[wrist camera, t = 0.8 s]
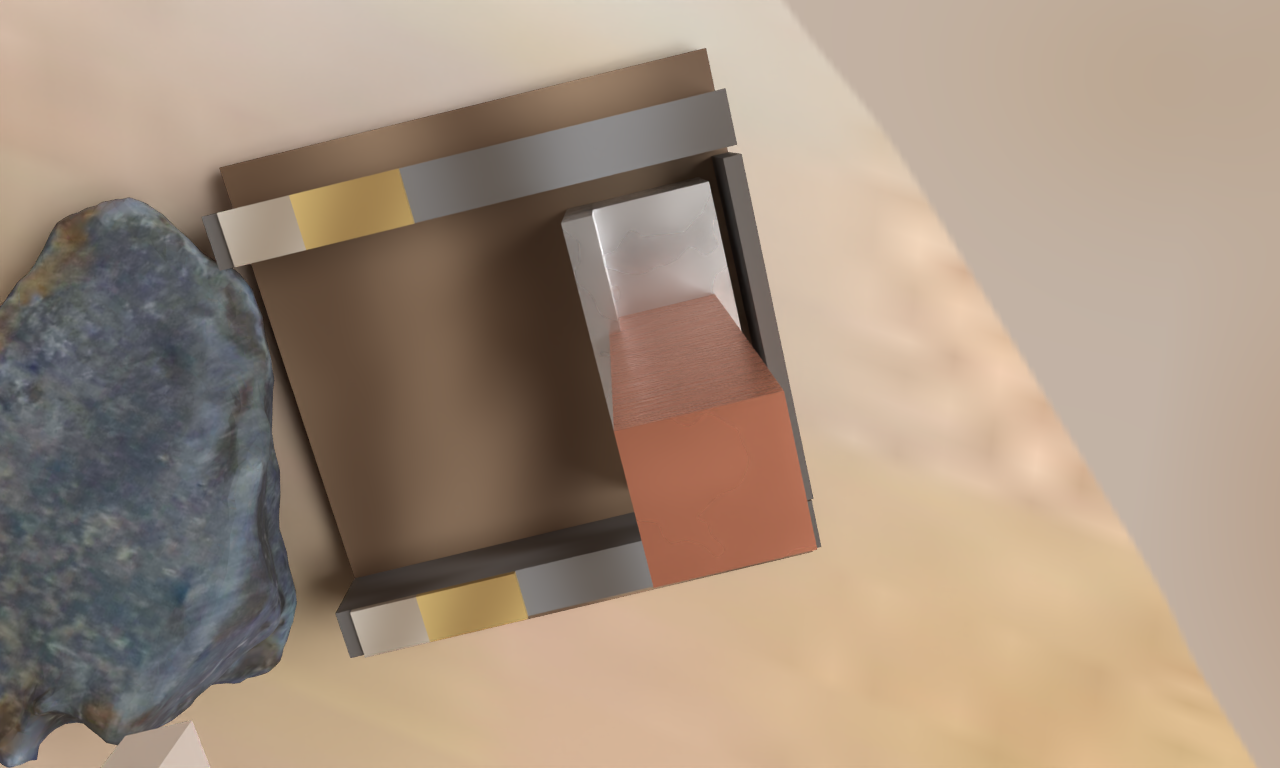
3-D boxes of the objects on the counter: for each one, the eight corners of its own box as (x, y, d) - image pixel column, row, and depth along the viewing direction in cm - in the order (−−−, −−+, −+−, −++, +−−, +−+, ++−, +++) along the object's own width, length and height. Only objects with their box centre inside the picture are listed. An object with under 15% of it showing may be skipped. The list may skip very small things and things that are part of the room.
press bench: (386, 636, 35) (358, 703, 31) (233, 166, 31) (178, 171, 27) (805, 537, 35) (832, 591, 31) (701, 51, 31) (717, 38, 27)
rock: (32, 680, 35) (308, 755, 34) (-178, 724, 27) (174, 824, 26) (159, 244, 37) (425, 300, 36) (-2, 163, 29) (335, 232, 28)
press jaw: (637, 488, 33) (664, 738, 19) (567, 208, 31) (541, 268, 17) (760, 458, 33) (875, 689, 19) (698, 176, 31) (777, 211, 17)
